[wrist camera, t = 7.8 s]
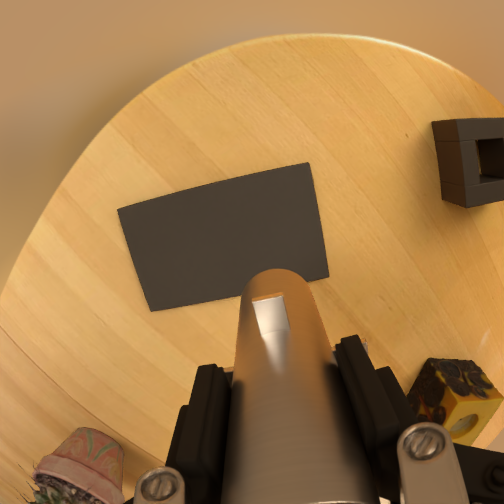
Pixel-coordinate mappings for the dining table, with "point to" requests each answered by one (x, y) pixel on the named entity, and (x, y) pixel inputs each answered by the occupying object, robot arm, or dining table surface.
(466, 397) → the candle
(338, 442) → the bronze metal rod
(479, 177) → the dark square ring block
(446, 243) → the dining table surface
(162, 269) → the mat
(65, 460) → the potted plant
